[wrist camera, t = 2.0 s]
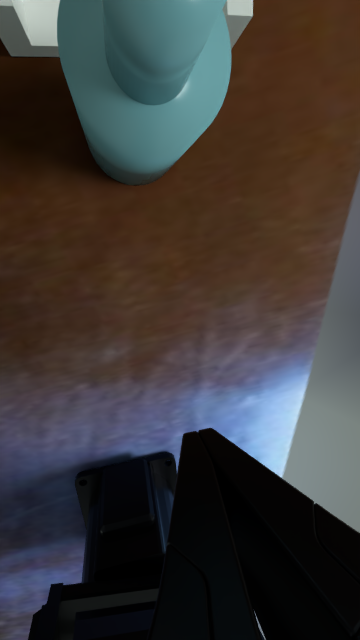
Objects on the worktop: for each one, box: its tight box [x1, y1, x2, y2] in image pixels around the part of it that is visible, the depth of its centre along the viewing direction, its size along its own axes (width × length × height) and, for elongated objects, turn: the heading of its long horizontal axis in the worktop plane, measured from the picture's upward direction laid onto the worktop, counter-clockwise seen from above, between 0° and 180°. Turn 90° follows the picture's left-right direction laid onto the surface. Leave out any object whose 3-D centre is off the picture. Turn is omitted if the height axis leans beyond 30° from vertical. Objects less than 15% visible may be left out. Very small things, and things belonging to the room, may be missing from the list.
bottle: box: [57, 0, 231, 186], centre depth 9 cm, size 4×4×10 cm
